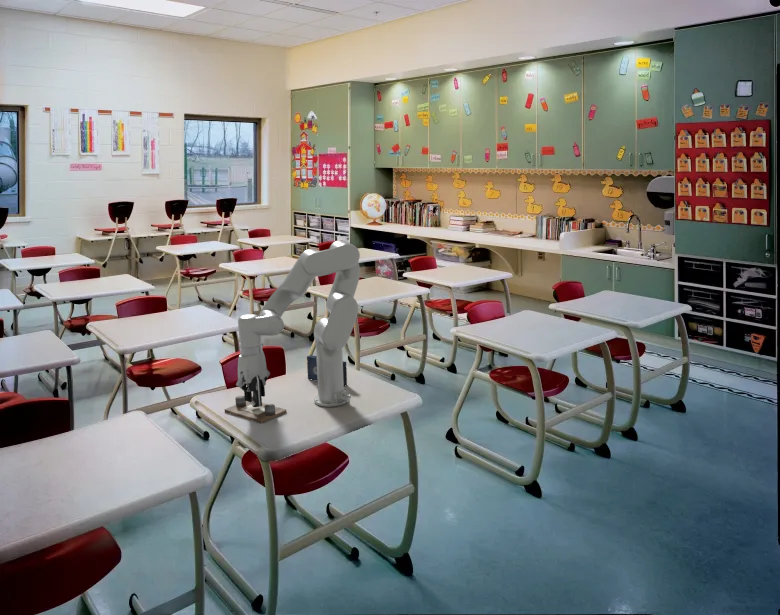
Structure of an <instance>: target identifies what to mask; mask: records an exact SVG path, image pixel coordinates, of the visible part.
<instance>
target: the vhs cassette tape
mask: <svg viewBox="0 0 780 615" xmlns="http://www.w3.org/2000/svg"><path fill="white" fill-rule="evenodd" d="M306 361H307V362H306V366H307V369H306V370H307V380H308V379H312V380H317V381H318V379H317V357H316V355H313V354H310V355H307V356H306ZM347 370H348V369H347V361H344V360H343V383H344V387H346V386H348V374H347V373H348V372H347ZM312 380H311V381H312ZM317 381H316V382H317ZM345 385H346V386H345Z"/></svg>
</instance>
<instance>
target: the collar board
mask: <svg viewBox="0 0 780 615" xmlns="http://www.w3.org/2000/svg"><path fill="white" fill-rule="evenodd" d="M226 412H227V413H226ZM224 413H226V414H229V413H231V414H230V415H232V414H233V415H232V416H236V417H239V418H243V419H245V418H246V419H245V420H248V419H249V421H252V420H253V421H252V422H255V421H256V423H258V422H259V423H258V424H261V423H262V424H264V423H266V422H268V421H270V420H274V419H275V418H277V417H279V416H282V415H284V414H286V413H287V409H286V408H282V407H278V406H275V404H274V403H264V402H262V406H260V407H253V406H252V405H251V403H250V402H248V401H245V397H244V395H239V396H235V405H233V406H230V407H227V408H225V409H224Z"/></svg>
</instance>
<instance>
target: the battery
mask: <svg viewBox="0 0 780 615" xmlns="http://www.w3.org/2000/svg"><path fill="white" fill-rule="evenodd" d="M250 391H251V392H252V402H250V403H251V405H252V406H253V407H260V406H262V403H263V401H262V400H263V399H262V397H263V396H261V383H260V377H259V375H258V376H256V377H254V378H253V379H252V381H251V383H250Z"/></svg>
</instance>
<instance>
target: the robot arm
mask: <svg viewBox="0 0 780 615" xmlns="http://www.w3.org/2000/svg"><path fill="white" fill-rule="evenodd" d="M360 255H361V254H360V251H359V249H358V247H356V245H354V244H352V243H350V242H348V241H345V240H340V239H339V240H335V241H334V242H332V243H331V245H330V246H329V248H328V249H324V250H320V251H319V250H317V249H312V248H310V249H309V248H308V249H306V250H304V251H303V252H302V253H301V254H300V255H299V257H298V258H297V260H296V261H295V263H294V264H293V266H292V268H291V269H290V271H289V272H288V274H287V275H286V277H285V279H284V280H283V282H282V283H281V284H280V285H279V286H278V287H277V288H276V290H274V292H273V293H272V294H271V295H270V297H269V298H268V300H267V301H266V303H265V304H264V306H263V307H262V308H261V311H260V312H259V315H258V314H253V313H252V314H243V315H241V316H239V318H238V319H237V324H238V336H239V337H238V340H239V350H240V354H239V355H238V359H237V382H236V384H235V386H237V387H238V388H240V389H241V390H242V391H243V392H244V393H243V396H244V397H245V401H248V402H252V396H253V392H251V391H250V383H251V381H252V379H253V378H254V377H256V376H258V375H259V377H260V383H261V397H266V390H265V389H266V388H265V386H266V384H267V380H268V378H269V376H270V375H271V372H270V371H269V370H268V367H267V362H266V356H265V353H264V351H263V347H264V343H263V340H262V336H268V337H269V336H270V337H273V336H278V335H280V334H281V333H282V332H283V330H284V327H285V323H284V320H283V318H282V316H283V315H284V313H285V311H286V310H287V309H288V308H289V306H291V304H292V303H293V302H296V301H297V300H299V299H302V297H304V296H305V294H306V293H307V291H308V289H309V288H310V286H311V284H312V283H313V282H314V280H315V278H316V277H322V276H327V275H331V274H335V277H334V281H333V283H332V286H331V288H330V292H329V295H328V296H327V299H326V302H325V307H326V310H327V311H328V312H329V317H322V318H320V319H319V320H317V322H316V323H315V324H314V325H315V326H314V330H313V337H314V344H315V356H316V357H317V379H318V382H317V393H318V394H317V395H316V396H315V397H314V400H313V401H314V403H315V404H316V405H317V406H320V407H324V408H325V407H327V408H332V407H333V408H334V407H340V406H342V405H344V404H346V403H349V402H350V400H351V398H352V395H351V394H347V389H345V388H344V387H345V386H344V383H343V361H344V360H343V359H344V358H343V348H344V347H345V346H346V344H348V342H349V339H350V336H351V334H352V332H353V330H354V329H353V328H354V326H355V323H356V321H357V317H358V314H359V304H358V302H357V300H356V299H355V297H354V296H355V294H356V291H357V288H358V284H359V281H360V277H361V270H360V263H359V261H360V258H361V256H360Z"/></svg>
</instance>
